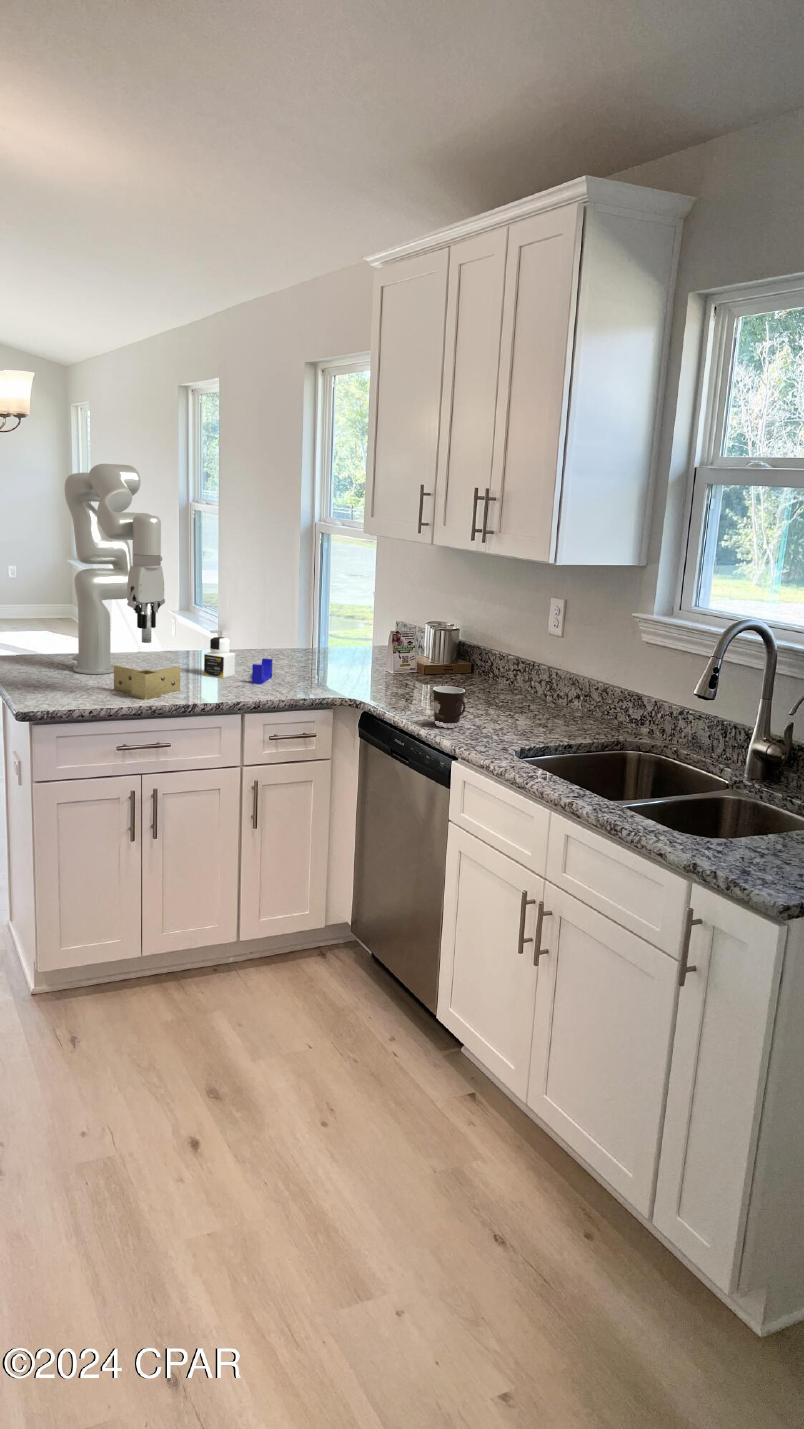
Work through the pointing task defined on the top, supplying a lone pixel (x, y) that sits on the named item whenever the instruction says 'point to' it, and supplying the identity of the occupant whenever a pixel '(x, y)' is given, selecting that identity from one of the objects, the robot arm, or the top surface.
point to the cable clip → (262, 671)
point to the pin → (147, 632)
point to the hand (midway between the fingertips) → (146, 627)
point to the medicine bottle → (219, 659)
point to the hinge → (146, 681)
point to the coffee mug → (448, 704)
